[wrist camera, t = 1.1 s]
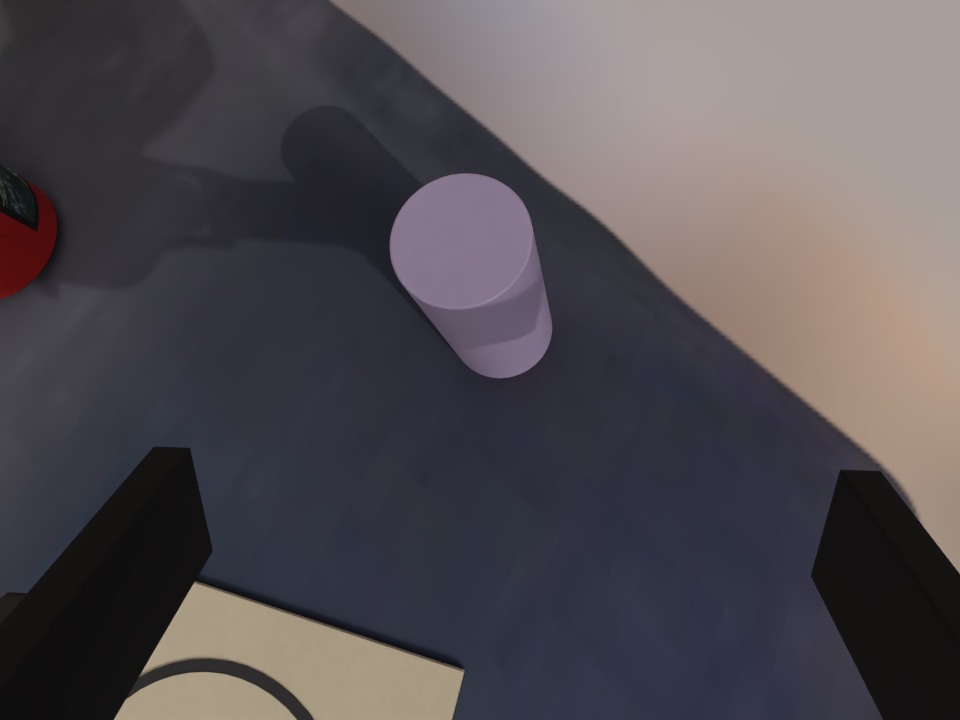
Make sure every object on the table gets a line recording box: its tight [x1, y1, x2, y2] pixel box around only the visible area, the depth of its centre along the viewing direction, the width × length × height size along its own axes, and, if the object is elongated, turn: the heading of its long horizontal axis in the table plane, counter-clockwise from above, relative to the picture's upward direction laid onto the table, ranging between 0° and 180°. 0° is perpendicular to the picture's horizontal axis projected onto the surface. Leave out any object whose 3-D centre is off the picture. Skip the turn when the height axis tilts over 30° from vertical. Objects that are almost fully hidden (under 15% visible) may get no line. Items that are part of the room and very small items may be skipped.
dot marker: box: [390, 173, 552, 378], centre depth 26 cm, size 4×4×11 cm
